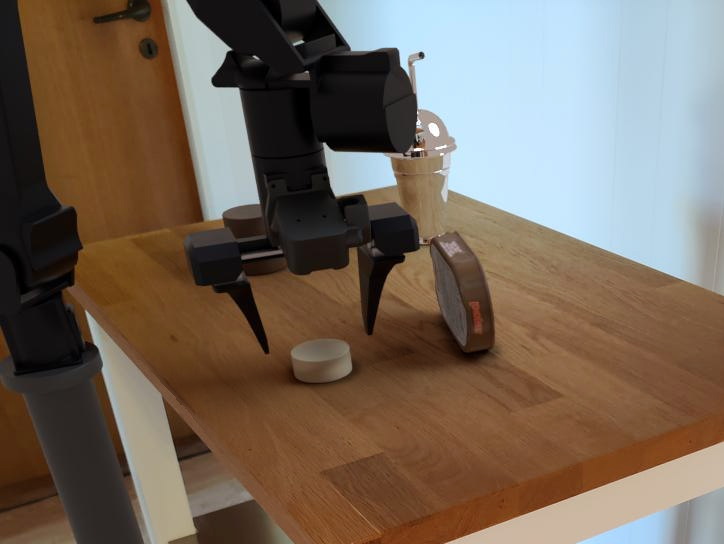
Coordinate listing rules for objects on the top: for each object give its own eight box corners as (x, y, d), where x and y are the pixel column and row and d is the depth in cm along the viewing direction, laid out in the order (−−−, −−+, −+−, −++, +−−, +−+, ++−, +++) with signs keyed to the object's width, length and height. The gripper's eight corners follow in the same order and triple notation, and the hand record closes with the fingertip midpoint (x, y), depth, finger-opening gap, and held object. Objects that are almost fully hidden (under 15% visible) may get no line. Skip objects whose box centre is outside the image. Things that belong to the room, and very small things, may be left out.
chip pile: (238, 279, 111) (226, 222, 107) (229, 263, 115) (218, 208, 112) (293, 269, 112) (284, 214, 108) (283, 254, 117) (273, 200, 113)
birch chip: (300, 387, 86) (296, 365, 85) (289, 366, 90) (285, 344, 89) (358, 376, 87) (355, 354, 86) (344, 355, 91) (341, 334, 90)
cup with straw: (468, 227, 121) (457, 37, 109) (454, 251, 114) (440, 51, 102) (401, 228, 122) (382, 40, 110) (382, 251, 116) (360, 54, 103)
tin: (499, 363, 88) (495, 266, 83) (465, 368, 88) (458, 271, 82) (462, 307, 100) (455, 219, 94) (431, 311, 99) (423, 223, 94)
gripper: (178, 190, 69) (225, 398, 79) (431, 154, 74) (447, 356, 83) (162, 158, 78) (207, 350, 87) (391, 127, 82) (409, 313, 92)
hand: (318, 343), depth 87 cm, fingers open, 9 cm apart
